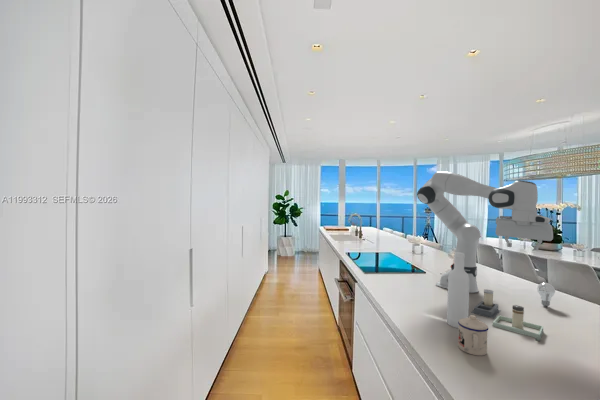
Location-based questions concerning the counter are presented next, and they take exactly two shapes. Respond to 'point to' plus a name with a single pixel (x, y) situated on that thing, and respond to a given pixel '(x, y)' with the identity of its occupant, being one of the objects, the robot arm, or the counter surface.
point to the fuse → (488, 297)
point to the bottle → (457, 292)
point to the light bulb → (546, 293)
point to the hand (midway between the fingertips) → (522, 248)
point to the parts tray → (535, 335)
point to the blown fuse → (517, 316)
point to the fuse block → (486, 310)
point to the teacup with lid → (472, 336)
